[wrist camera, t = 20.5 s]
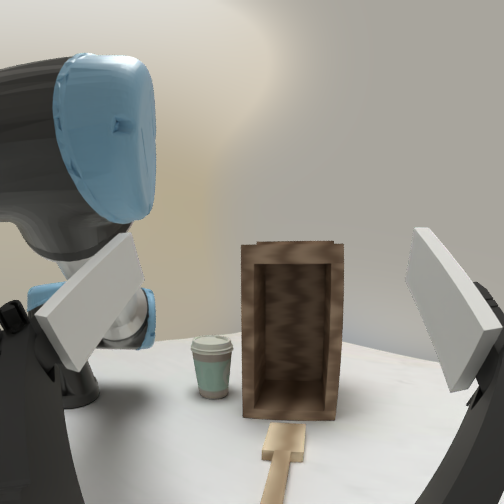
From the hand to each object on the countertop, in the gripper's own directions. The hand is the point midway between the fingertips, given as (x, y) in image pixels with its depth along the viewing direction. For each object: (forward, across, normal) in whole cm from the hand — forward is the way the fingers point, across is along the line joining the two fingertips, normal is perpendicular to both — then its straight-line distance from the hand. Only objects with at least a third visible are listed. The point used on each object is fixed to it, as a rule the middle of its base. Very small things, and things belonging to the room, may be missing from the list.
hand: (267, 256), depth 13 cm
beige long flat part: (-1, 0, -31) cm, 31 cm away
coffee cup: (+22, -16, -45) cm, 53 cm away
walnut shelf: (+22, 0, -44) cm, 49 cm away
